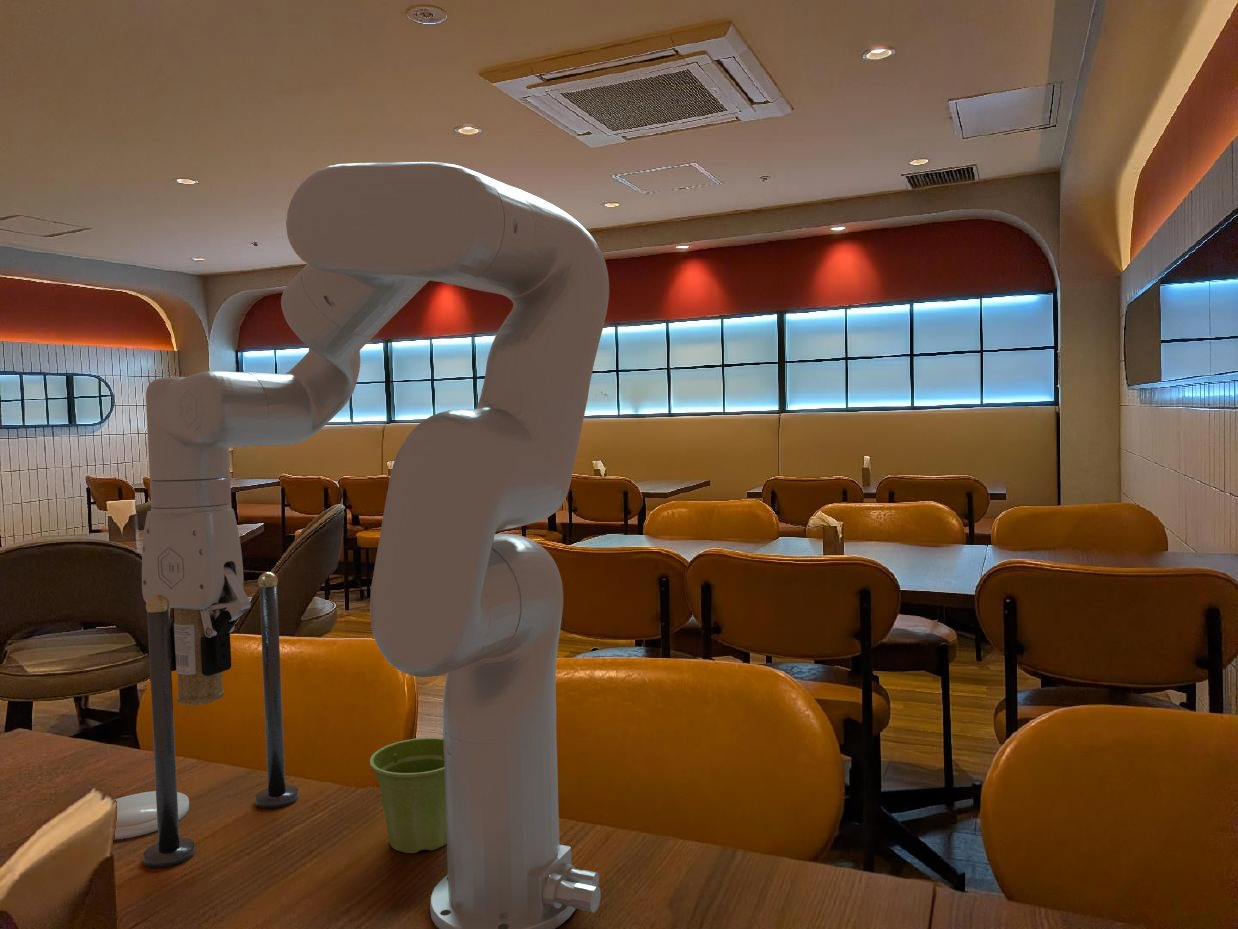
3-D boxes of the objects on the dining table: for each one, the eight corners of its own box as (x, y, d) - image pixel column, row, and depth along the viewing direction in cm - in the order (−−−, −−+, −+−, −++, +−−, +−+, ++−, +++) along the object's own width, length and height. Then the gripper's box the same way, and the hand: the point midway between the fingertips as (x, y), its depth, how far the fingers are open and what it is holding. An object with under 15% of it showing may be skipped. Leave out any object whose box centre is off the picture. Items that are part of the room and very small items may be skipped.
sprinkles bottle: (229, 700, 90) (224, 572, 90) (182, 709, 87) (176, 578, 87) (217, 690, 94) (212, 567, 93) (171, 699, 91) (165, 573, 90)
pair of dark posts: (306, 795, 97) (297, 569, 96) (165, 871, 81) (152, 600, 80) (277, 789, 99) (268, 568, 98) (133, 863, 83) (120, 598, 81)
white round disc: (209, 805, 95) (209, 797, 95) (125, 847, 86) (125, 837, 86) (147, 792, 99) (146, 784, 99) (60, 830, 90) (60, 821, 90)
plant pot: (487, 827, 88) (485, 744, 88) (430, 871, 80) (427, 779, 79) (413, 812, 92) (411, 732, 92) (352, 853, 84) (348, 764, 83)
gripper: (102, 498, 90) (111, 672, 90) (220, 500, 83) (228, 688, 84) (166, 493, 97) (174, 654, 97) (280, 494, 90) (287, 668, 90)
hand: (199, 668), depth 90 cm, fingers closed on sprinkles bottle, 4 cm apart
